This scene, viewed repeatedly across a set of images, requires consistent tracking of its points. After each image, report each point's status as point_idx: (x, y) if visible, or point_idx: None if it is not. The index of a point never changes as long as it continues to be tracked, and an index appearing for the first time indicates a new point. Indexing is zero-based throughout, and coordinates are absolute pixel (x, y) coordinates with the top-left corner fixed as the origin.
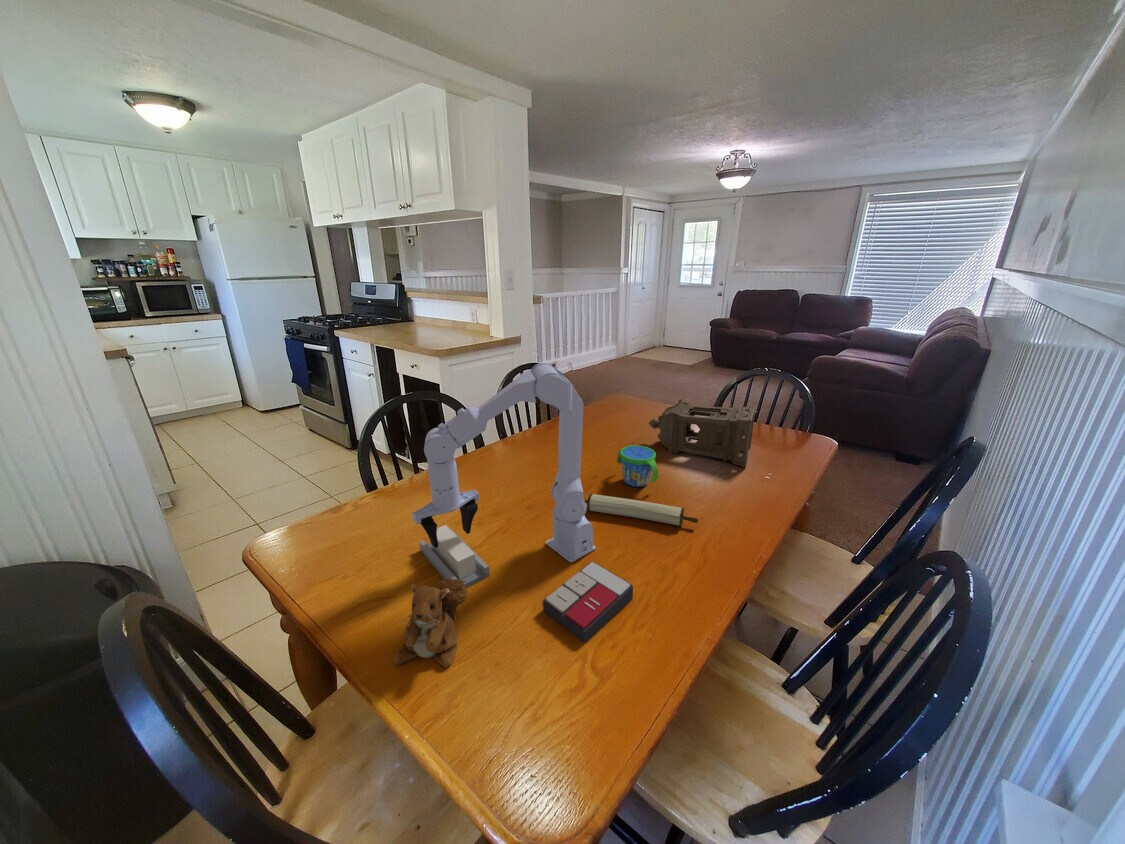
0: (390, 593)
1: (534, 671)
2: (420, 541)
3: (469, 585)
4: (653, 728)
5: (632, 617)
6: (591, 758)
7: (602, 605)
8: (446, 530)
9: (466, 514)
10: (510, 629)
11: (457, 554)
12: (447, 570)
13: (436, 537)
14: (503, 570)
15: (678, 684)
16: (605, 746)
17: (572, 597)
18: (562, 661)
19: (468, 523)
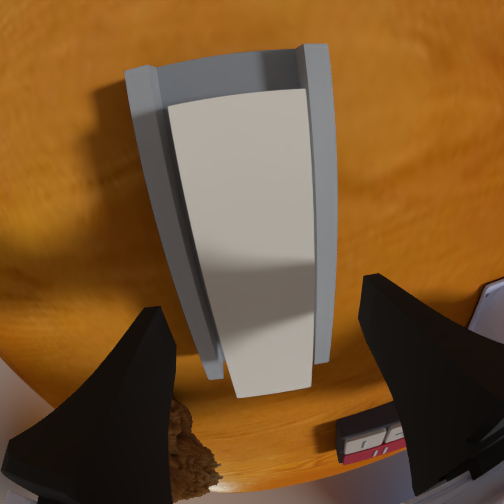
0: (36, 270)
1: (263, 459)
2: (130, 71)
3: None
4: (312, 480)
5: None
6: (260, 485)
7: (385, 452)
8: (282, 164)
9: (415, 429)
10: (271, 431)
11: (252, 371)
12: (201, 332)
13: (166, 416)
14: (360, 331)
15: (357, 467)
16: (274, 483)
17: (374, 444)
18: (298, 457)
19: (389, 386)
